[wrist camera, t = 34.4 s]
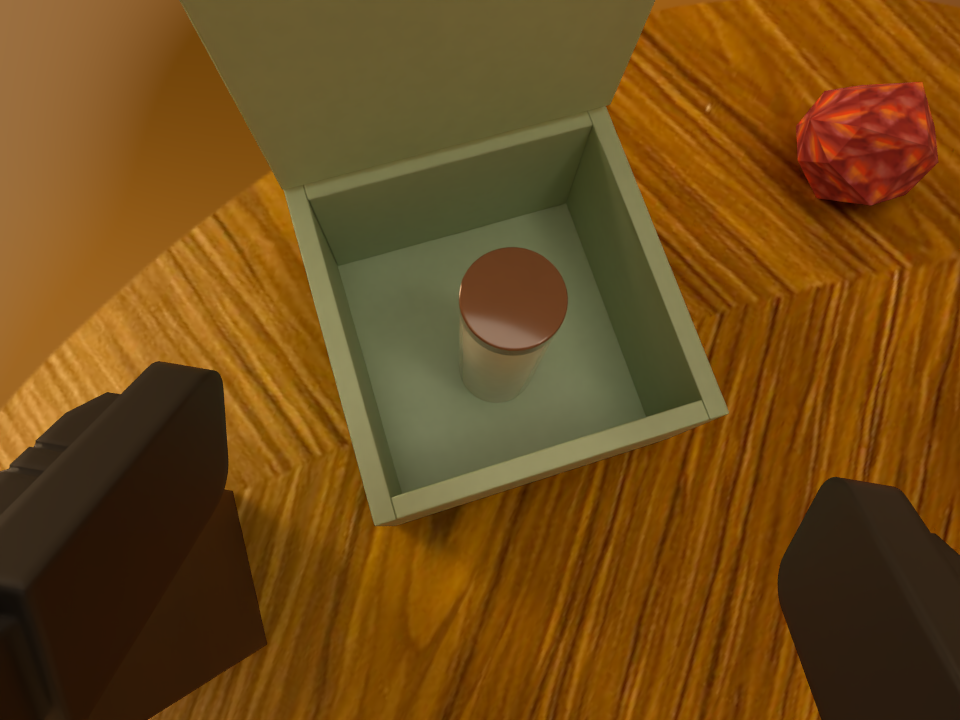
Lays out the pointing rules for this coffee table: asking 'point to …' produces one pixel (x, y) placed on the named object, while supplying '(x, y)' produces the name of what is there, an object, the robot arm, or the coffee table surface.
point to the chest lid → (408, 72)
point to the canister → (507, 320)
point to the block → (191, 625)
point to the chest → (435, 314)
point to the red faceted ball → (867, 142)
